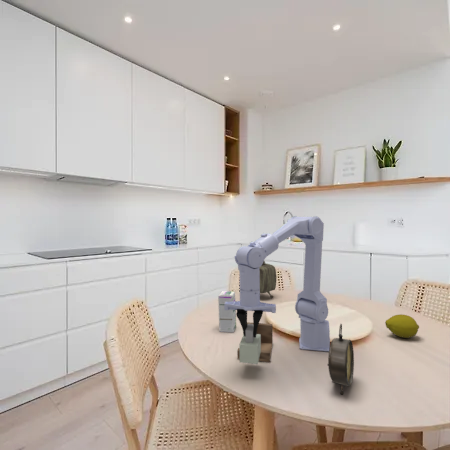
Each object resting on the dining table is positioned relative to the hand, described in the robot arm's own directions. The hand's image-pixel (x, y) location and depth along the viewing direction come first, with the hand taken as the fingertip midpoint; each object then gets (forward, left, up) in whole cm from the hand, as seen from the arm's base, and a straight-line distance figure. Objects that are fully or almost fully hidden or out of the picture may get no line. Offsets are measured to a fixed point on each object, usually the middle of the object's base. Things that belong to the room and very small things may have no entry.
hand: (250, 335), depth 83 cm
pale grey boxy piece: (0, 0, -6) cm, 6 cm away
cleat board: (0, -12, -10) cm, 16 cm away
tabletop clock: (+5, -73, -10) cm, 74 cm away
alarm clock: (-24, +2, -10) cm, 26 cm away
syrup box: (+13, -28, -10) cm, 33 cm away
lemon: (-50, -33, -11) cm, 61 cm away
